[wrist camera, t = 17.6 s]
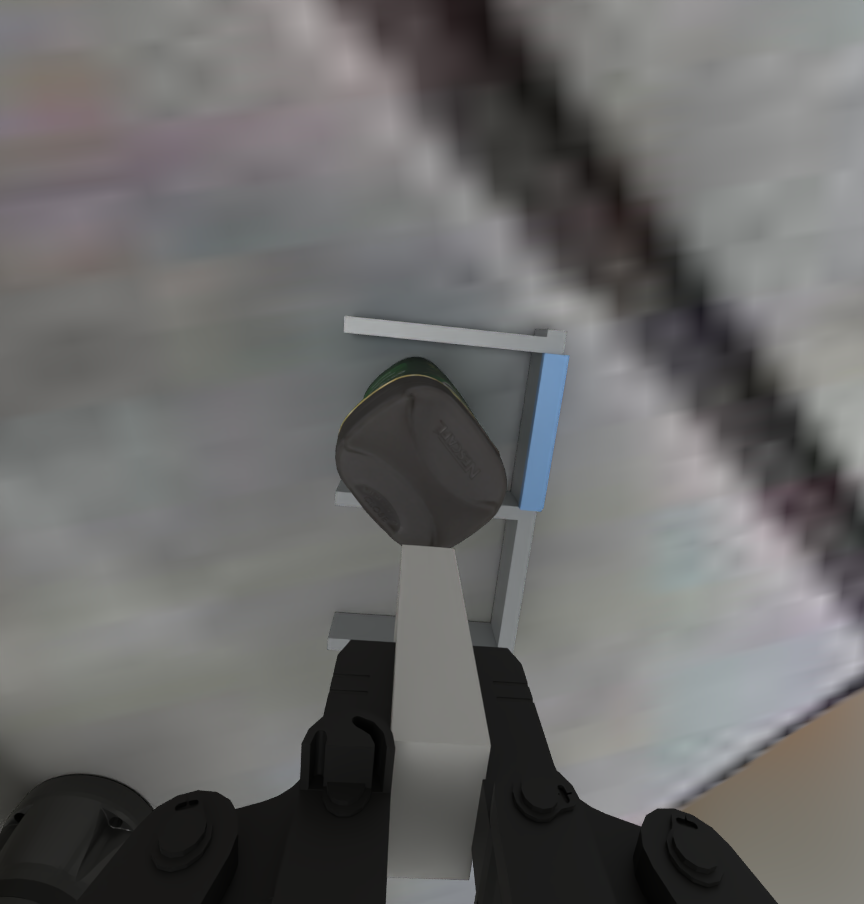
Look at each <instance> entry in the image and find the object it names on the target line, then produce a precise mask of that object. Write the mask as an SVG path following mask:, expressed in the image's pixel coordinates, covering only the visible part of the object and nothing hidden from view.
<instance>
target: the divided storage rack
mask: <svg viewBox="0 0 864 904" xmlns="http://www.w3.org/2000/svg"><path fill="white" fill-rule="evenodd" d="M344 332H346V333H355V334H365V335H375V336H384V337H394V338H404V339H413V340H423V341H433V342H442V343H452V344H462V345H471V346H481V347H491V348H500V349H510V350H520V351H529V352H532V353H531V360H530V367H529V373H528V380H527V386H526V393H525V400H524V406H523V413H522V419H521V426H520V433H519V439H518V446H517V453H516V459H515V466H514V472H513V479H512V486H511V491H506V495H505V498H504V501H503V503H502V505H501V507H500V509H499V511H498V512H497V514H496V515H495V516H494V517H493V518H498V519H506V525H505V532H504V539H503V545H502V552H501V559H500V565H499V572H498V578H497V585H496V592H495V598H494V605H493V611H492V618H491V623H486V622H471V621H468V625H469V630H470V636H471V641H472V646H487V647H502V648H508V649H509V650H510V651H511V653H512V654H513V651H514V645H515V639H516V633H517V627H518V622H519V616H520V610H521V604H522V598H523V592H524V586H525V580H526V574H527V568H528V562H529V556H530V550H531V544H532V538H533V532H534V526H535V520H536V514H537V511H539V512H541V511H542V509H543V508H544V502H545V496H546V490H547V484H548V478H549V472H550V467H551V461H552V455H553V449H554V443H555V437H556V432H557V426H558V420H559V414H560V408H561V402H562V397H563V391H564V385H565V379H566V373H567V367H568V361H569V355H563V353H564V347H565V341H566V335H567V331H560V330H551V329H535V333H534V336H531V335H521V334H512V333H502V332H493V331H483V330H474V329H464V328H455V327H445V326H436V325H426V324H417V323H407V322H398V321H388V320H379V319H369V318H360V317H350V316H345V319H344ZM335 505H338V506H351V507H362V506H361V505H360V503H359V502H358V501H357V500H356V498H355V497H354V496H353V494H352V493H351V492H350V490H349V489H348V488H347V487H346V485H345V484H344V482H343V481H342V480H341V482H340V484H339V486H338V488H337V490H336V492H335ZM395 618H396V616H383V615H369V614H354V613H339V612H335V615H334V618H333V622H332V625H331V629H330V632H329V636H328V645H327V650H340V651H341V650H342V649H343V648H344V647H345V646H346V645H347V644H348V642H349V641H350V640H351V639H352V640H367V641H383V642H394V629H395Z"/></svg>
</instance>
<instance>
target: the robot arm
mask: <svg viewBox="0 0 864 904" xmlns="http://www.w3.org/2000/svg"><path fill="white" fill-rule="evenodd" d="M472 859H473V868H474V877H475V886H476V896H475V902H474V904H778V903H777V902H776V901H775V900H774V898H773V897H772V896H771V895H770V893H769V892H768V891H767V890H766V889H765V888H764V886H763V885H762V884H761V883H760V881H759V880H758V879H757V878H756V877H755V875H754V874H753V873H752V872H751V871H750V869H749V868H748V867H747V866H746V864H745V863H744V862H743V861H742V860H741V858H740V857H739V856H738V855H737V854H736V852H735V851H734V850H733V849H732V847H731V846H730V845H729V844H728V843H727V842H726V841H725V840H724V839H723V838H722V837H721V836H720V835H719V834H718V833H717V832H716V831H715V830H714V829H713V828H712V827H710V826H708V825H707V824H705V823H704V822H702V821H701V820H699V819H698V818H696V817H695V816H693V815H691V814H688V813H685V812H682V811H679V810H676V809H656V810H654V811H653V812H651V813H649V814H647V815H646V817H645V819H644V822H643V824H642V826H638V825H635V824H632V823H630V822H627V821H624V820H621V819H619V818H616V817H613V816H610V815H608V814H605V813H603V812H601V811H599V810H596V809H594V808H592V807H590V806H589V805H587V804H586V803H585V802H583V801H582V800H580V799H579V797H578V795H577V793H576V791H575V790H574V788H573V786H572V785H571V784H570V783H569V782H568V781H567V780H566V779H565V778H564V777H563V776H562V775H561V774H560V773H559V772H558V771H557V770H556V768H555V766H554V763H553V760H552V757H551V754H550V751H549V748H548V744H547V741H546V738H545V735H544V732H543V729H542V726H541V723H540V720H539V717H538V714H537V710H536V707H535V704H534V703H533V698H532V695H531V692H530V689H529V687H528V683H527V679H526V676H525V673H524V670H523V667H522V664H521V663H520V662H519V661H518V660H517V658H516V657H515V656H514V655H513V654H512V653H511V651H510V650H509V649H508V648H502V647H487V646H472V641H471V636H470V630H469V625H468V619H467V614H466V609H465V603H464V598H463V592H462V587H461V582H460V576H459V571H458V565H457V560H456V555H455V549H454V548H441V547H428V546H415V545H402V553H401V564H400V575H399V585H398V596H397V607H396V618H395V629H394V642H383V641H367V640H352V639H351V640H350V641H349V642H348V644H347V645H346V646H345V647H344V648H343V649H342V650H341V652H340V653H339V654H338V656H337V661H336V665H335V669H334V673H333V677H332V682H331V686H330V691H329V694H328V698H327V703H326V707H325V711H324V715H323V717H322V718H321V719H320V720H318V721H317V722H316V723H315V724H314V725H313V726H312V727H311V728H309V730H308V732H307V734H306V736H305V738H304V740H303V742H302V747H301V773H300V780H299V781H298V782H297V783H296V784H295V785H294V786H293V787H292V788H290V789H289V790H287V791H285V792H284V793H282V794H281V795H279V796H277V797H274V798H271V799H269V800H266V801H263V802H260V803H256V804H253V805H249V806H245V807H242V808H238V809H235V808H234V806H233V804H232V802H231V801H230V800H229V799H228V798H226V797H224V796H223V795H221V794H219V793H217V792H212V791H200V790H197V791H194V792H190V793H186V794H182V795H178V796H176V797H174V798H172V799H171V800H169V801H167V802H165V803H164V804H162V805H160V806H158V807H157V808H156V809H155V810H154V811H152V809H151V808H150V807H149V805H148V804H147V803H146V802H145V801H144V800H143V799H142V798H141V797H140V796H139V795H137V794H136V793H135V792H133V791H132V790H130V789H129V788H127V787H125V786H123V785H121V784H119V783H117V782H114V781H111V780H108V779H105V778H101V777H96V776H88V775H70V776H63V777H58V778H54V779H51V780H49V781H46V782H44V783H42V784H40V785H38V786H37V787H35V788H34V789H33V790H32V791H30V792H29V793H28V794H27V796H26V797H25V798H24V799H23V800H22V801H21V803H20V804H19V805H18V806H17V807H16V809H15V810H14V811H13V812H12V813H11V815H10V816H9V818H8V819H7V821H6V823H5V824H4V826H3V828H2V831H1V833H0V904H386V885H387V877H388V878H419V879H449V880H469V877H470V871H471V865H472Z"/></svg>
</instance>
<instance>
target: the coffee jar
mask: <svg viewBox="0 0 864 904" xmlns="http://www.w3.org/2000/svg"><path fill="white" fill-rule="evenodd" d="M335 459H336V466H337V470H338V473H339V475H340V477H341V479H342V481H343V482H344V484H345V485H346V487H347V488H348V489H349V490H350V492H351V493H352V494H353V496H354V497H355V498H356V500H357V501H358V502H359V503H360V505H361V506H362V507H363V508H364V510H365V511H366V512H367V513H368V514H369V515H370V516H371V518H372V519H373V520H374V521H375V522H376V523H377V524H378V525H379V526H380V527H381V528H382V529H383V530H384V531H385V532H386V533H387V534H388V535H389V536H390V537H391V538H392V539H393V540H394V541H396V542H397V543H399V544H400V545H401V546H402V545H415V546H428V547H441V548H451V547H453V546H455V545H457V544H458V543H460V542H462V541H463V540H465V539H466V538H468V537H469V536H471V535H472V534H473V533H475V532H476V531H478V530H479V529H480V528H481V527H483V526H484V525H485V524H486V523H487V522H489V521H490V520H491V519H492V518H493V517H494V516H495V515H496V514H497V512H498V511H499V509H500V507H501V505H502V503H503V501H504V498H505V495H506V488H507V479H506V473H505V468H504V466H503V463H502V460H501V458H500V454H499V451H498V449H497V448H496V447H495V446H494V444H493V443H492V442H491V440H490V439H489V437H488V436H487V434H486V433H485V431H484V430H483V428H482V427H481V426H480V424H479V423H478V422H477V420H476V418H475V417H474V415H473V413H472V412H471V410H470V409H469V407H468V406H467V404H466V402H465V401H464V399H463V398H462V396H461V395H460V394H459V392H458V391H457V389H456V388H455V387H454V385H453V384H452V383H451V382H450V380H449V379H448V378H447V377H446V376H445V375H444V374H443V373H442V372H441V371H440V369H439V368H438V367H437V366H435V365H434V364H433V363H432V362H430V361H428V360H426V359H423V358H418V357H411V358H407V359H404V360H401V361H400V362H398V363H396V364H394V365H393V366H391V367H390V368H389V369H387V370H386V371H385V372H383V373H382V374H381V375H380V376H379V377H378V378H377V379H375V380H374V382H373V383H372V384H371V385H370V386H369V388H368V389H367V391H366V393H365V396H364V399H363V400H362V401H361V402H360V403H359V404H358V405H357V406H356V407H355V408H354V409H353V410H352V411H351V412H350V413H349V414H348V415H347V417H346V418H345V420H344V421H343V423H342V425H341V427H340V430H339V433H338V439H337V445H336V455H335Z"/></svg>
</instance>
